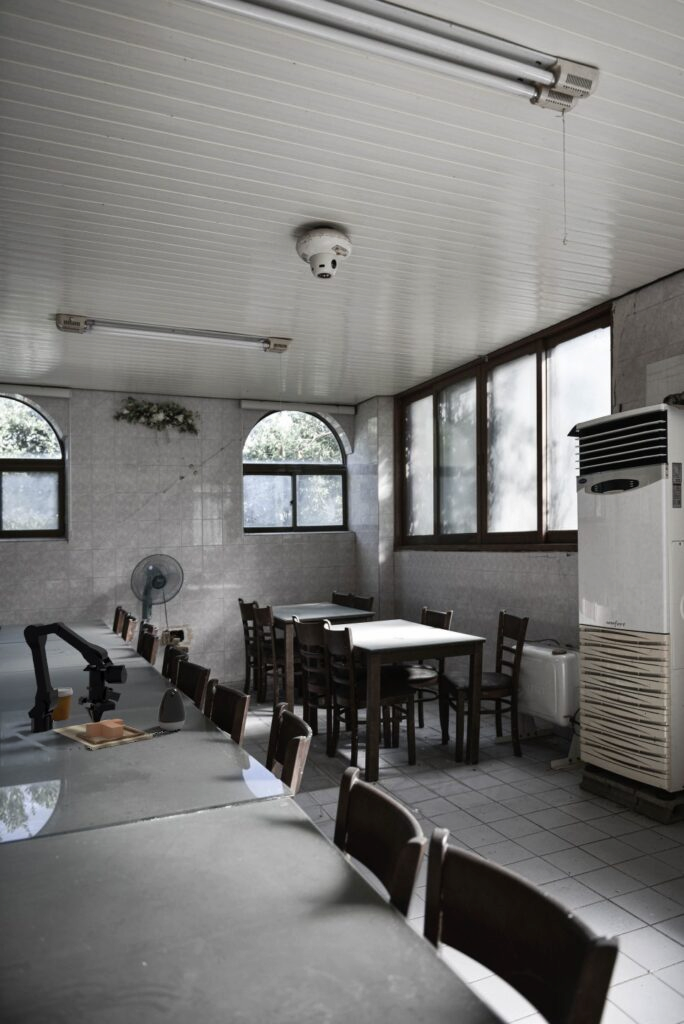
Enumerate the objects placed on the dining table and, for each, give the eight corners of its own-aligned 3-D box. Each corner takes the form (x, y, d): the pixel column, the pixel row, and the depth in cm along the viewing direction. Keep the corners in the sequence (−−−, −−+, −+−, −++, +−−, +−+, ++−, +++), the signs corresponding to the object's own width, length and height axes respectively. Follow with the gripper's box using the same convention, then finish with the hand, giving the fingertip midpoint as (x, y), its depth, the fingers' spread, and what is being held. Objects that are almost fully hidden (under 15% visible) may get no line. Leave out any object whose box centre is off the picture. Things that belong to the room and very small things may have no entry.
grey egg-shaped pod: (157, 733, 260) (157, 691, 261) (157, 727, 270) (157, 686, 271) (186, 731, 263) (186, 689, 264) (185, 725, 273) (185, 684, 274)
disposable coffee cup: (77, 717, 288) (77, 687, 288) (65, 723, 278) (66, 691, 279) (54, 717, 289) (54, 687, 289) (42, 723, 279) (42, 691, 280)
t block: (101, 742, 246) (101, 730, 246) (85, 735, 255) (86, 724, 255) (133, 735, 255) (133, 723, 255) (117, 729, 263) (118, 718, 263)
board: (92, 750, 240) (92, 744, 240) (51, 732, 264) (51, 727, 264) (152, 737, 255) (152, 732, 255) (108, 722, 279) (108, 717, 280)
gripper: (129, 684, 262) (129, 728, 261) (106, 677, 275) (106, 719, 274) (100, 688, 254) (99, 733, 253) (78, 681, 268) (77, 724, 267)
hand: (96, 727), depth 262 cm, fingers closed
